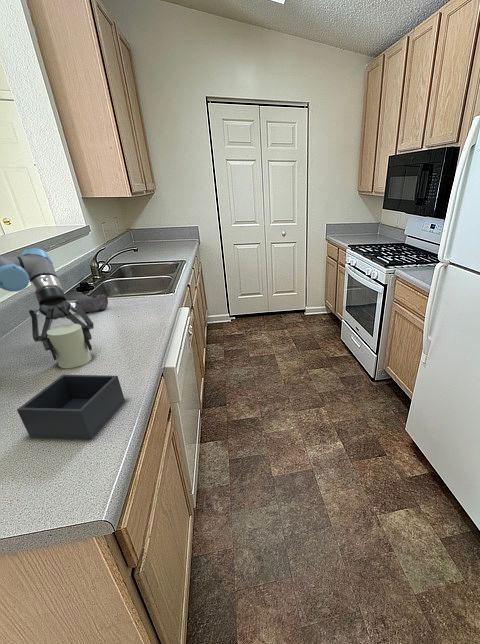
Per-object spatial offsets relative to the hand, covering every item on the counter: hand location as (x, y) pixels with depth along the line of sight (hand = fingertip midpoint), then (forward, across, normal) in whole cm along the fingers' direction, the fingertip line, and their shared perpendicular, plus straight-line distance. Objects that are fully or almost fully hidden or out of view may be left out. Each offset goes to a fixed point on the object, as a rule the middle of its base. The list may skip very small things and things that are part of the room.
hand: (73, 353), depth 104 cm
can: (+1, 0, +5) cm, 5 cm away
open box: (+25, -4, -19) cm, 32 cm away
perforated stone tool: (-33, +14, +40) cm, 54 cm away
